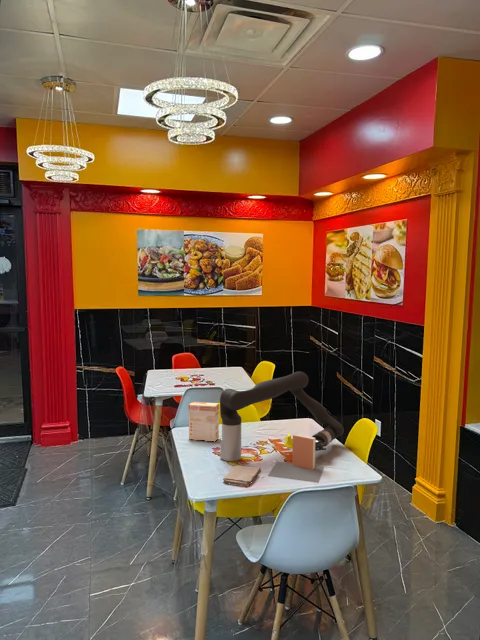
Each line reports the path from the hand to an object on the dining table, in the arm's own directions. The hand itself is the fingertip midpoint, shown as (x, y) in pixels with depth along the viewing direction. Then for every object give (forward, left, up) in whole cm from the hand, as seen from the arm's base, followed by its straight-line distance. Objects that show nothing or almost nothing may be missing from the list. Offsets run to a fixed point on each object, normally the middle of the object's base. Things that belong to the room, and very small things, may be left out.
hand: (306, 449), depth 217 cm
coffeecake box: (-59, +21, -8) cm, 63 cm away
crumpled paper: (-11, +23, -8) cm, 27 cm away
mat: (-3, -9, -8) cm, 12 cm away
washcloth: (-24, -21, -9) cm, 33 cm away
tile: (-1, -3, -7) cm, 8 cm away
